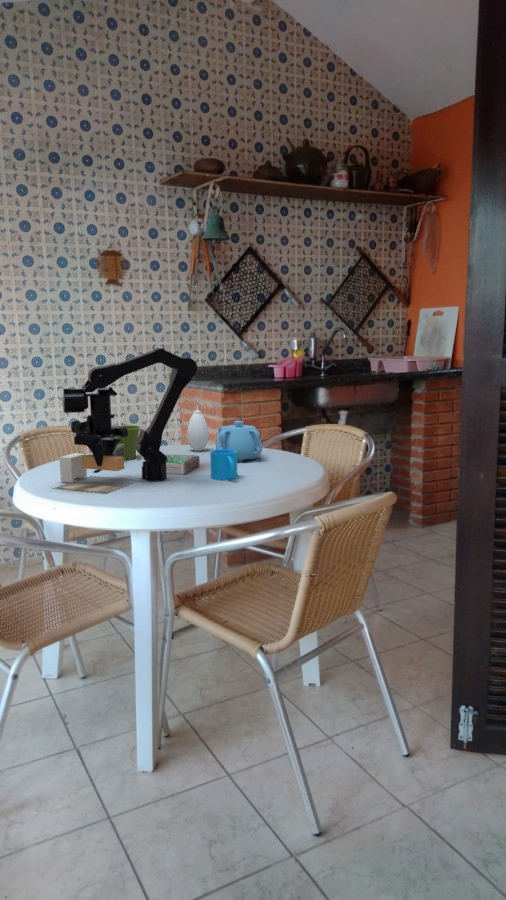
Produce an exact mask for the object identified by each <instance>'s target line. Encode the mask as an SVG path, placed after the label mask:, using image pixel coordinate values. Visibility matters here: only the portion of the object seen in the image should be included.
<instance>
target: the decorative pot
mask: <svg viewBox="0 0 506 900" xmlns="http://www.w3.org/2000/svg"><path fill="white" fill-rule="evenodd" d="M217 430H218V431H217V434H218V436H217V438H216V442H215V450H219V449H231V450H236V451H237V463H244V460H256V458H257V457H260V456H261V453H262V451H263V443H262V440H261V434H260V432H259V430H258V429H257V427H256V426H254V425H247V424H244V420H234V421H233V424H229V425H222V426H220V427H219V428H218V429H217Z"/></svg>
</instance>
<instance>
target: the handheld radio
mask: <svg viewBox="0 0 506 900" xmlns="http://www.w3.org/2000/svg"><path fill="white" fill-rule="evenodd" d="M112 456H118V457H124V463H125V462H126V461H127V460H126V456H125V444H124V443H120V444H118V445H117V447H116V449H115V451H114V453H113V455H112ZM101 471H102V470H98V469H94V471H92V472H93V474H96V473H97V474H98V473H99V472H101Z"/></svg>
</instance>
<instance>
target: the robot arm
mask: <svg viewBox="0 0 506 900" xmlns="http://www.w3.org/2000/svg"><path fill="white" fill-rule="evenodd" d="M159 363H160V364H162V365H163V366H166V367H168V368H170V369H171V371H170V378H169V379H170V380H169V384H168V386H167V388H166V390H165V393H164V395H163V397H162V399H161V400H160V403H159V405H158V408H157V410H156V412H155V414H154V416H153V418H152V420H151V422H150V425H149V426H148V427H147V428H146V429H142V428H140V429H139V433H138V438H137V439H136V440H135V441H136V442H137V443H136V453H138V454H139V455H140V456H141V457H142V458H143V460H144V461H142V466H141V479H142V480H145V481H148V482H163V481H165V480H167V459H168V457H167V455H165V454H164V453H163V452H162V451H161V449H160V448H161V445H162V439H163V432H164V431H165V428H166V426H167V424H168V422H169V419H170V418H171V416H172V414H173V412H174V409H175V407H176V405H177V404H178V403H177V402H178V400H179V399H180V396H181V395H182V392H183V390H184V389H185V388H186V386H187V385H189V383H190V382H191V381H192V379H193V378H194V376H195V375H196V374H197V373H198V372H197V371H198V365H197V362H196V361H195V360H194V359H193V358H191V357H185V356H178V355H177V354H174V353H172V352H170V351H168V350H166V349H164V348H162V347H161V348H160V347H156V348H154V349H152V350H151V351H147V352H145V353H142V354H139V355H136V356H134V357H131V358H129V359H126V360H123V361H120V362H117V363H112V364H106V365H101V366H95V367H93V368H90V370H89V372H88V374H87V380H86V382H85V383H84V384H83V385H82V388H63V389H62V391H63V393H62V410H63V413H64V414H68V413H69V414H72V413H85V411H86V410H87V409H89V408H90V414H89V415H87V417H86V420H85V421H80V420H78V419H77V420H73V421H71V423H70V429H71V430H70V431H71V432H72V433H73V434H75V436H74V437H73V444H74V445H75V446H77V445H78V446H86V447H87V448H89V450H90V452H91V455H93V456H94V459H95V461H96V464H97V466H101V465H102V461H103V456H104V455H105V456H112V455H113V453H114V451H115V449H116V447H117V445H118V443H119V441H120V440H121V439H117V437H116V436H121V437H127V436H128V430H127V429H126V427H117V426H118V425H114V426H112V425H113V424H112V419H115V414H114V413H113V414H112V406H111V405H112V404H111V402H112V401H111V396H117V395H118V393H117V392H116V391H115V390H114V388H113V387H112V386H110V385H112V384H113V383H115V382H117V381H118V380H119V379H121V378H122V377H124V376H127V375H129V374H131V373H132V374H133V373H134V372H137V371H139V370H142V369H145V368H148V367H150V366H154V365H156V364H159ZM108 386H109V387H108ZM107 387H108V388H107ZM104 388H105V389H104ZM106 388H107V389H106ZM93 392H95V393H93ZM89 403H90V404H89ZM89 405H90V406H89Z"/></svg>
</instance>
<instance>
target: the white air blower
mask: <svg viewBox="0 0 506 900" xmlns="http://www.w3.org/2000/svg"><path fill="white" fill-rule="evenodd" d="M198 407H199V405H198V404H197V403H196V410H194V411H193V414H192V415H191V416H190V419H189V422H188V425H187V432H186V433H187V437H186V438H187V441H188V445H189V446H190V448H191V449H192V450H193V451H195V452H202V450H204V448H206V447H207V445H208V441H209V428H208V423H207V421H206V419H205V417H204V415H203V414H202V412H201V410H199V408H198Z"/></svg>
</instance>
